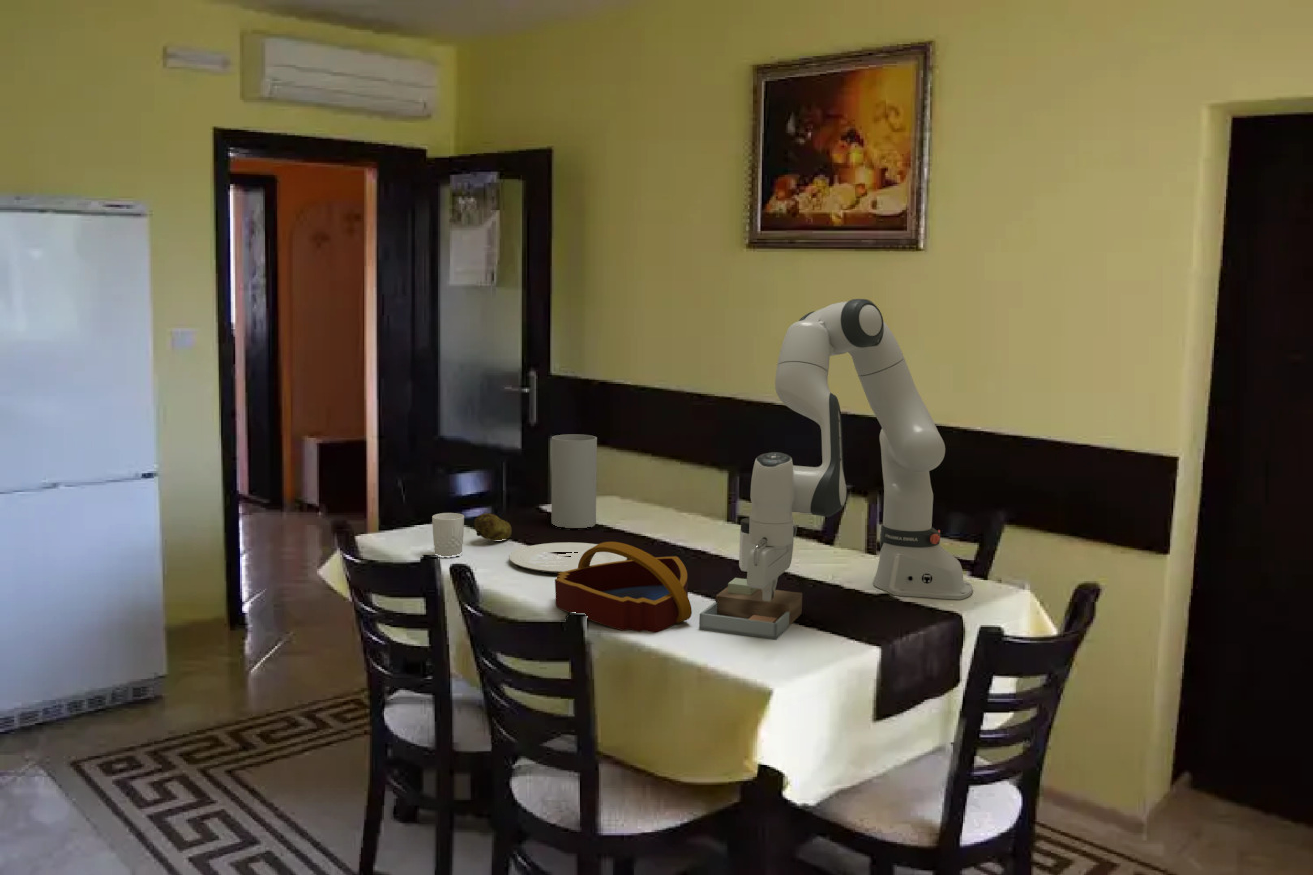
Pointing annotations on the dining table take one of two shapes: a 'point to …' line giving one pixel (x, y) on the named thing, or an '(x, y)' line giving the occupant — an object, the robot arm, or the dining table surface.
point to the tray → (741, 624)
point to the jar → (744, 545)
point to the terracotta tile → (763, 618)
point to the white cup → (448, 533)
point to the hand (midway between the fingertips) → (768, 599)
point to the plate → (523, 555)
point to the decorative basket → (626, 589)
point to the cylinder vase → (574, 480)
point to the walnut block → (759, 604)
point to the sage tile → (740, 587)
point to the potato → (492, 527)
